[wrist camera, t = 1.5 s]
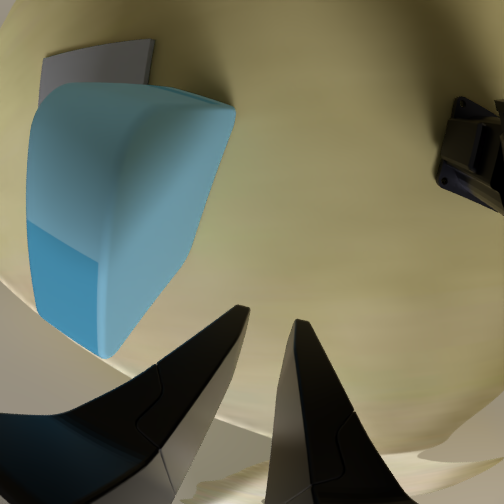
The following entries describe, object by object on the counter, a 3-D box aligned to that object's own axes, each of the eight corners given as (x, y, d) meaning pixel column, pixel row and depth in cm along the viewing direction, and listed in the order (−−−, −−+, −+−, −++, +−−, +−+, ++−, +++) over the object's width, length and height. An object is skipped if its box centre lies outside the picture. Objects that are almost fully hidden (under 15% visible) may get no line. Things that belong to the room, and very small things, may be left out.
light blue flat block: (180, 87, 17) (35, 83, 6) (241, 107, 17) (134, 105, 6) (139, 236, 22) (38, 328, 12) (188, 258, 22) (103, 372, 12)
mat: (155, 40, 15) (150, 38, 15) (141, 282, 25) (138, 286, 24) (47, 58, 16) (43, 58, 16) (52, 251, 26) (48, 254, 25)
